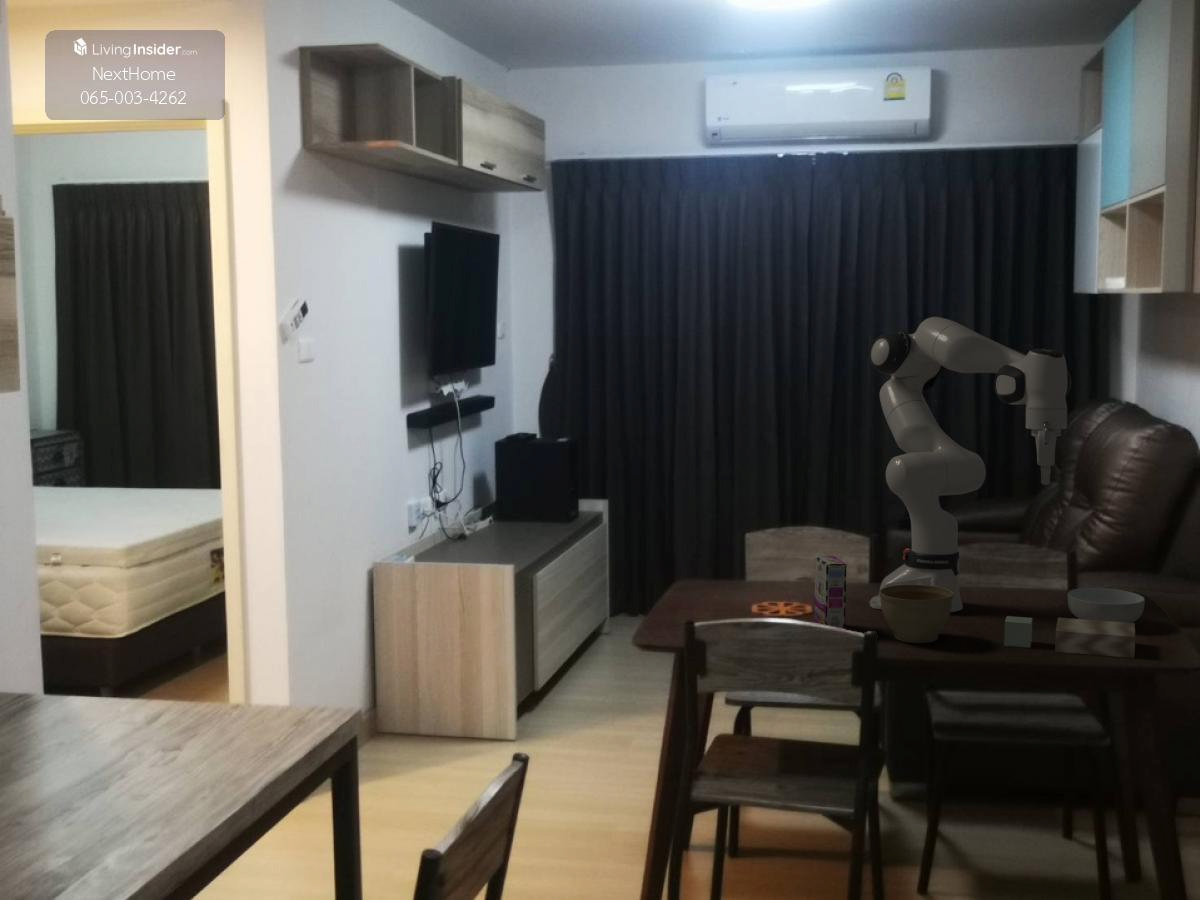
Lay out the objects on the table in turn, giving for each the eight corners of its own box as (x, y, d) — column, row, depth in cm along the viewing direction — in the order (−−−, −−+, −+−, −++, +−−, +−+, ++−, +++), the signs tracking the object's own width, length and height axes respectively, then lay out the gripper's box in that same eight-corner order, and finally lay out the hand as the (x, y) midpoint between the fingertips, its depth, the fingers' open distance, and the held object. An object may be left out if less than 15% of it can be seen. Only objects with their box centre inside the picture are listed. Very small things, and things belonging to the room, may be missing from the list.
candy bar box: (846, 634, 307) (847, 563, 305) (825, 635, 307) (825, 564, 305) (834, 622, 318) (834, 554, 316) (813, 623, 318) (814, 555, 316)
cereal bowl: (1079, 633, 307) (1079, 602, 306) (1057, 616, 323) (1058, 587, 322) (1154, 633, 306) (1155, 603, 305) (1129, 616, 322) (1130, 587, 322)
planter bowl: (885, 627, 313) (885, 582, 312) (956, 633, 307) (957, 586, 306) (873, 644, 298) (873, 596, 297) (947, 650, 292) (948, 601, 291)
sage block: (1004, 645, 296) (1004, 621, 295) (1006, 640, 301) (1006, 616, 301) (1030, 648, 294) (1031, 623, 294) (1031, 642, 299) (1032, 618, 299)
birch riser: (1055, 653, 291) (1055, 630, 290) (1057, 639, 303) (1058, 617, 302) (1134, 659, 285) (1135, 636, 284) (1133, 645, 297) (1134, 623, 297)
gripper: (1061, 424, 291) (1060, 487, 293) (1060, 417, 311) (1059, 477, 312) (1031, 424, 293) (1030, 486, 295) (1031, 417, 313) (1031, 476, 314)
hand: (1045, 481), depth 303 cm, fingers open, 8 cm apart
